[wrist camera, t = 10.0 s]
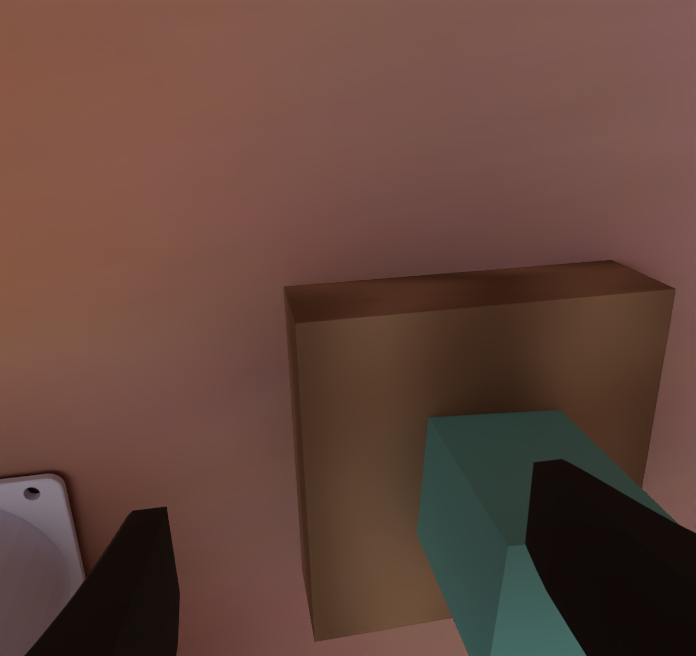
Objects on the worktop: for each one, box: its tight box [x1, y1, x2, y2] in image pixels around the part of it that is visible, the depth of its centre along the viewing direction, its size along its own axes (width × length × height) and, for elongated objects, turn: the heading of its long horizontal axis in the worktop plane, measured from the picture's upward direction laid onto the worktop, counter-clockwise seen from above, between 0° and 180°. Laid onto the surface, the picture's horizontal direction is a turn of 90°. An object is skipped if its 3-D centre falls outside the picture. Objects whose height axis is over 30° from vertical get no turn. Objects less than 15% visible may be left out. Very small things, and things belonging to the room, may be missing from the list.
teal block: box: [417, 410, 678, 656], centre depth 18 cm, size 4×4×6 cm
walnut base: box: [284, 260, 676, 642], centre depth 23 cm, size 12×12×4 cm
